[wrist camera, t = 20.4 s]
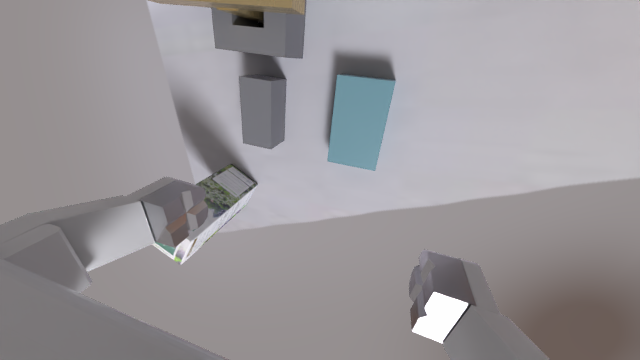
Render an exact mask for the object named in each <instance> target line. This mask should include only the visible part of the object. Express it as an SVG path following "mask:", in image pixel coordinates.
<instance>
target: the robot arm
mask: <svg viewBox="0 0 640 360" xmlns="http://www.w3.org/2000/svg"><path fill="white" fill-rule="evenodd" d="M205 197H206V193H205V189H204V188H202V187H201V186H198V185H194V184H191V183H188V182H185V181H181V180H177V179H174V178H170V177H164V178H162V179H160V180H158V181H156V182H154V183H152V184H150V185H148V186H146V187H144V188H142V189H140V190H138V191H136V192H133V193H131V194H129V195H127V196H117V197H111V198H106V199H101V200H96V201H91V202H86V203H80V204H76V205H70V206H65V207H60V208H55V209H50V210H45V211H40V212H34V213H29V214H26V215H23V216H21V217H19V218H17V219H14V220H11V221H9V222H7V223H4V224H2V225H0V360H229V359H227V358H225V357H222V356H220V355H218V354H216V353H213V352H211V351H209V350H207V349H204V348H202V347H200V346H198V345H195V344H193V343H191V342H188V341H186V340H184V339H182V338H180V337H177V336H175V335H173V334H171V333H168V332H166V331H163V330H161V329H159V328H157V327H155V326H153V325H150V324H148V323H146V322H144V321H141V320H139V319H137V318H134V317H132V316H130V315H128V314H126V313H123V312H121V311H118V310H116V309H114V308H112V307H109V306H107V305H105V304H103V303H101V302H98V301H96V300H94V299H92V298H89V297H87V296H85V295H83V294H80V292H82V291H83V290H84V289H86V288H87V287H89V286H90V285H91V282H92V280H91V278H90V276H89V274H88V273H87V272H88V271H90V270H93V269H95V268H97V267H100V266H102V265H104V264H106V263H109V262H111V261H114V260H116V259H118V258H121V257H123V256H125V255H128V254H130V253H132V252H135V251H137V250H139V249H142V248H144V247H147V246H149V245H151V244H154V243H155V242H158V243H161V244H164V245H167V246H170V247H173V248H175V247H176V246H178V245H179V244H180V243H181V242H182V241H184V240H185V239H186V238H187V237H188V236H189V234H190V231H191V230H194V229H197V228H199V227H200V226H201V225H202V224H203V223H204V222H205V220H206V218H207V217H208V205H207V204H206V203H205V201H204V199H205ZM419 264H420V265H418V266H416V267H414V269H413V271H412V274H411V278H410V283H409V296H410V298H411V299H412V301H413V302H414V303H413V305H412V307H411V309H410V315H411V329H412V332H415V333H418V334H420V335H423V336H425V337H428V338H431V339H433V340H436V341H439V342H441V343H443V344H442V345H443V347H444V349H445V351H446V352H447V354H448V356H449V358H450V359H451V360H550V359H549V358H548V357H547V356H546V355H545V354H544V353H543V352H542V351H541V350H540V349H539V348H538V347H537V346H536V345H535V344H534V343H533V342H532V341H531V340H530V339H529V338H528V337H527V336H526V335H525V334H524V333H523V332H522V331H521V330H520V329H519V328H518V327H517V326H516V325H515V324H514V323H513V322H512V321H511V320H510V319H509V318H508V317H507V316H504V315H501V314H500V312H499V309H498V307H497V305H496V302H495V300H494V297H493V295H492V293H491V290H490V288H489V286H488V283H487V281H486V279H485V276H484V274H483V272H482V269H481V267H480V265H478V263H476V262H471V261H468V260H464V259H460V258H455V257H451V256H448V255H444V254H440V253H437V252H433V251H429V250H426V249H424V250H423V251H422V252H421V254H420V256H419Z"/></svg>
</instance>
